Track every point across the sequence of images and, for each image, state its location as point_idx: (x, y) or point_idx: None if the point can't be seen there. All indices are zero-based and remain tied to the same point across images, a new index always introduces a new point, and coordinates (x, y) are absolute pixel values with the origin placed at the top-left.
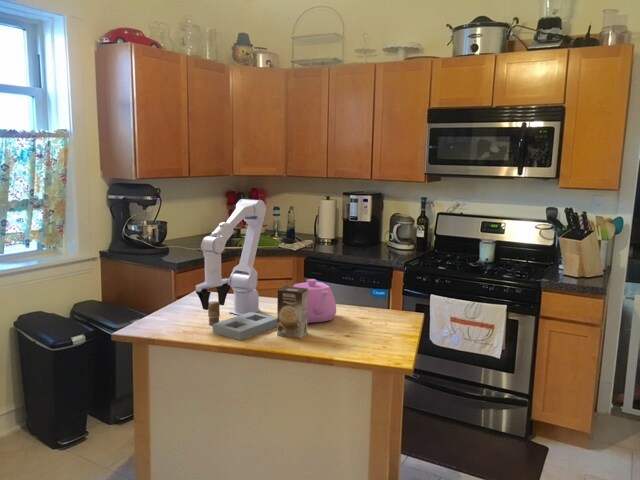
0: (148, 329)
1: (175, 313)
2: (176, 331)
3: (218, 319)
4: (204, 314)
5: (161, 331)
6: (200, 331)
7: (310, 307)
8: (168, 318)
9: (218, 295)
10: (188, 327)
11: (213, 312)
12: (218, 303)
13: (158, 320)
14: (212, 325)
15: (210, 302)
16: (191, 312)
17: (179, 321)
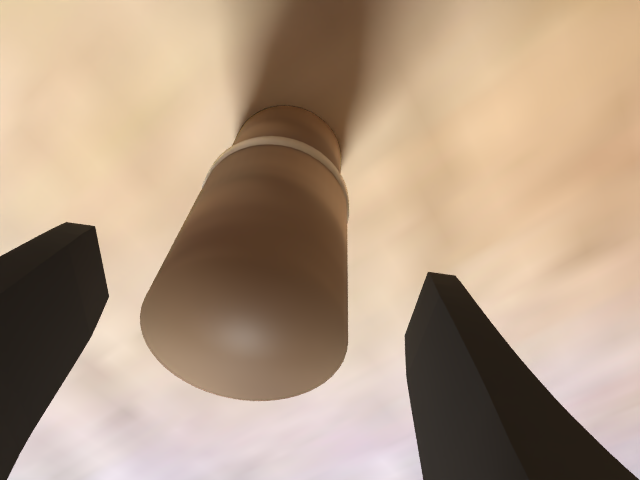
0: (602, 434)
1: (258, 470)
2: (607, 297)
3: (265, 130)
4: (145, 359)
5: (629, 368)
6: (555, 130)
7: None
8: (357, 455)
9: (20, 439)
10: (476, 283)
11: (333, 207)
12: (219, 257)
13: (417, 470)
14: (336, 142)
15: (265, 379)
16: (179, 429)
17: (375, 393)
